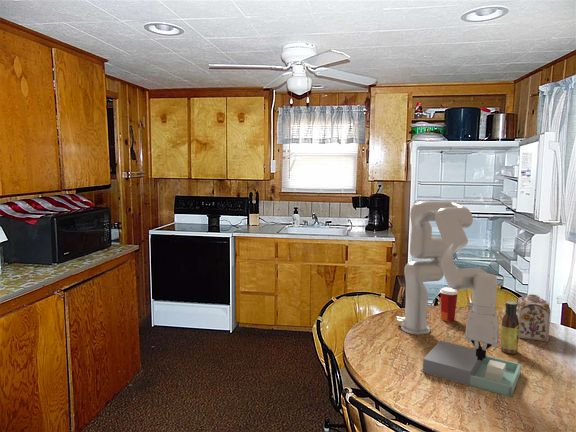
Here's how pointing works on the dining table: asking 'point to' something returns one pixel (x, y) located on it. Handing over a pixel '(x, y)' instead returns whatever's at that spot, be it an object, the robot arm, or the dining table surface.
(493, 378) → the tile
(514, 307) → the sauce bottle
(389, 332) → the dining table surface
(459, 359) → the slate block
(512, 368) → the box
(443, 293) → the coffee cup
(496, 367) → the tile
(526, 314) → the decorative jar
